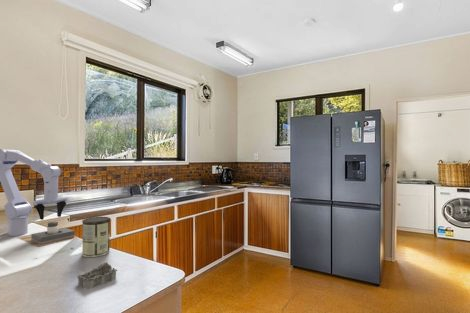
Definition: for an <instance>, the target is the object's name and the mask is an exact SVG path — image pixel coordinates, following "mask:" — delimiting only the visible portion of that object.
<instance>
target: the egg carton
mask: <svg viewBox="0 0 470 313" xmlns="http://www.w3.org/2000/svg"><path fill="white" fill-rule="evenodd" d="M117 272H118V270H117V268H116V269H115V268H114V267H112V266H111V264H109V263H108V261H107V262H103V263H101V264H100V265H99V264H98V267H96V268H93V269H91V270H89V271H86V272H84V273H83V274H78V275H76V277H77V285H78V286H82V288H83V289H92V288H94V286H96V285H104V284H105V282H107V281H113V280H115V279H116V277H117Z"/></svg>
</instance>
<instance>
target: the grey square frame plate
mask: <svg viewBox="0 0 470 313" xmlns="http://www.w3.org/2000/svg"><path fill="white" fill-rule="evenodd" d="M58 229H59V233H56V234H51V235H49V234H47V230H45V231H41V232H39V231H38V232H35V233H31V234H30V235H31V241H34V242H36V243H39V244H46V243H50V242H54V241H59V240H63V239H68V238H72V237H74V236H75V230H73V229H70V228H66V227H61V228H58Z"/></svg>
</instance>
